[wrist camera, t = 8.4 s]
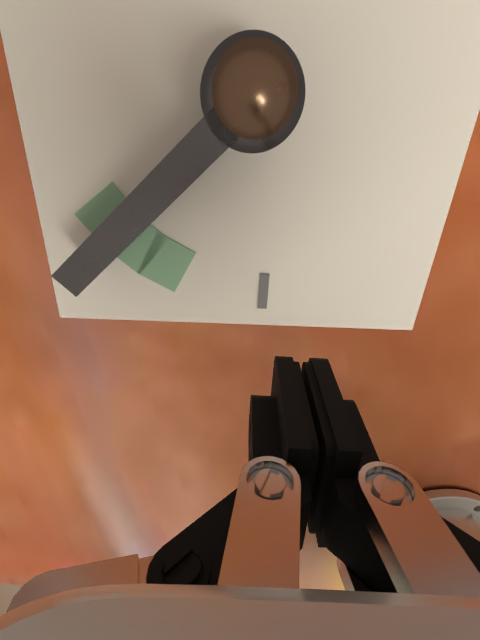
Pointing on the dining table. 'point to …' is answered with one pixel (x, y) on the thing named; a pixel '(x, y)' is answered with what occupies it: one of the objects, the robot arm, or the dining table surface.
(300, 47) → the dial plate
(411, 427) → the dining table surface
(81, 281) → the grey lever handle
